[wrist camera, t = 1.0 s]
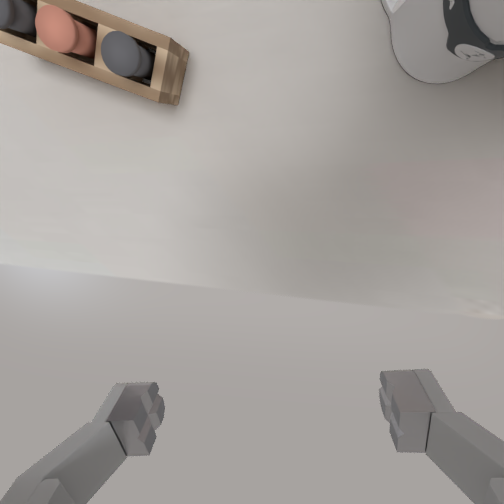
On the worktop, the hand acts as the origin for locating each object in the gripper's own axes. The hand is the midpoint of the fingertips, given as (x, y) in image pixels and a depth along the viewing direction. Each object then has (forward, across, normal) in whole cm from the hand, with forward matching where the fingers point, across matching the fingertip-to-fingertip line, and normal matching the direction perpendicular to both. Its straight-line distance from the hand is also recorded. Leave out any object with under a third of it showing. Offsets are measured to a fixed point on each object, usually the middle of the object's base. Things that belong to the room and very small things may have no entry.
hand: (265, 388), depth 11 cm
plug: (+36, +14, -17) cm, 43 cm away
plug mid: (+36, +21, -20) cm, 47 cm away
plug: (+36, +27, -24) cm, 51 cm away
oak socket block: (+40, +21, -20) cm, 50 cm away
